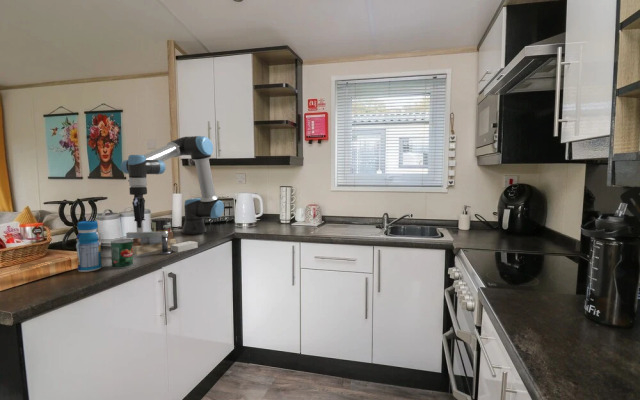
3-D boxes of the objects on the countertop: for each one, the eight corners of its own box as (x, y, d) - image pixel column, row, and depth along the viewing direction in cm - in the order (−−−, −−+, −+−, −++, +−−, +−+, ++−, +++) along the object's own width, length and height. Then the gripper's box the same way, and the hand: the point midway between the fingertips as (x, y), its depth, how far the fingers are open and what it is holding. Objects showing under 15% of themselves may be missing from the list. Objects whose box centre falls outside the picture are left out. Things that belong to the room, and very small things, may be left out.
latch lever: (168, 236, 163) (168, 231, 163) (167, 237, 160) (166, 232, 160) (128, 237, 160) (128, 232, 159) (126, 238, 157) (125, 233, 156)
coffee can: (175, 241, 190) (175, 218, 188) (163, 245, 179) (163, 220, 178) (160, 241, 192) (159, 217, 190) (147, 244, 182) (146, 219, 180)
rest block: (190, 246, 178) (190, 241, 178) (197, 247, 175) (197, 242, 175) (170, 250, 168) (170, 245, 167) (178, 252, 165) (178, 246, 164)
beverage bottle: (87, 273, 129) (85, 223, 128) (72, 271, 132) (69, 222, 130) (107, 267, 137) (104, 220, 136) (91, 265, 140) (89, 220, 138)
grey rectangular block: (158, 239, 176) (157, 232, 175) (167, 241, 172) (167, 233, 171) (140, 243, 167) (139, 235, 167) (149, 244, 163) (149, 237, 163)
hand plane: (169, 245, 181) (168, 231, 180) (176, 246, 178) (175, 232, 177) (129, 253, 162) (129, 237, 161) (136, 254, 159) (136, 238, 158)
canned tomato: (130, 267, 138) (129, 242, 137) (109, 269, 135) (108, 243, 134) (135, 262, 145) (134, 238, 144) (115, 263, 143) (114, 239, 142)
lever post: (166, 251, 166) (166, 235, 165) (174, 252, 163) (173, 236, 163) (155, 253, 161) (155, 237, 160) (163, 255, 158) (162, 238, 157)
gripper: (133, 186, 164) (135, 231, 166) (125, 187, 151) (127, 236, 153) (149, 185, 166) (151, 231, 168) (142, 187, 153) (145, 236, 155)
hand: (140, 233), depth 161 cm, fingers closed
